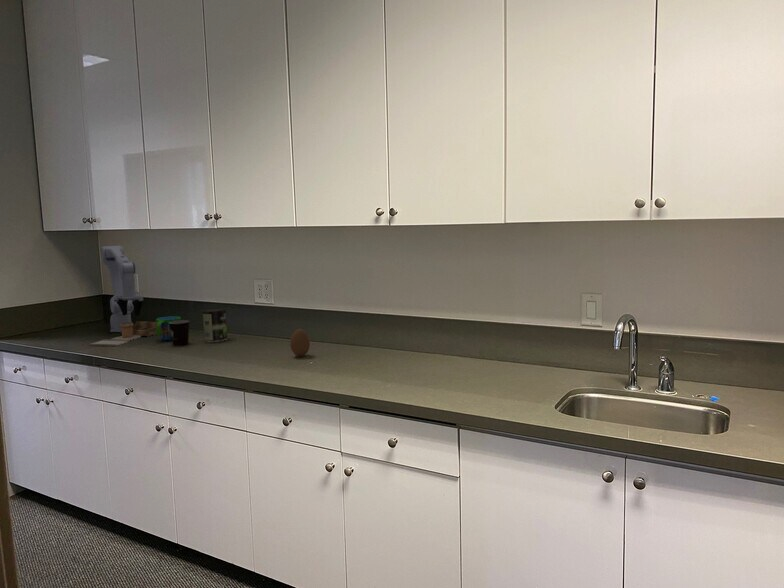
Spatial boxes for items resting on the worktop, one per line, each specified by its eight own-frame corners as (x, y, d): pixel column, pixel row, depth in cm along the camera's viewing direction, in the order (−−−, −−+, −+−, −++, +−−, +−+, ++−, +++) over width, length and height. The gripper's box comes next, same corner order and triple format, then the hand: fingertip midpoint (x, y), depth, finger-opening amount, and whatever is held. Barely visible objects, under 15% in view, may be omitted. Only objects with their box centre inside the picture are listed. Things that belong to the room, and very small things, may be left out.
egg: (314, 354, 245) (312, 328, 243) (303, 359, 238) (301, 331, 236) (298, 353, 248) (296, 326, 247) (287, 357, 241) (285, 330, 240)
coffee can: (230, 337, 285) (228, 307, 283) (223, 342, 275) (221, 311, 273) (208, 338, 285) (206, 308, 283) (201, 342, 275) (198, 311, 273)
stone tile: (111, 340, 286) (111, 338, 286) (125, 336, 294) (125, 334, 294) (126, 341, 283) (126, 339, 283) (140, 337, 291) (140, 335, 291)
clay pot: (118, 337, 287) (117, 324, 286) (127, 335, 293) (126, 322, 292) (128, 338, 285) (127, 325, 285) (136, 335, 291) (135, 322, 290)
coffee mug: (170, 343, 276) (169, 321, 275) (190, 341, 279) (189, 319, 277) (169, 348, 265) (167, 325, 264) (190, 346, 268) (188, 324, 266)
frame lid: (88, 345, 276) (88, 343, 276) (102, 341, 285) (102, 339, 285) (115, 346, 272) (115, 344, 272) (128, 342, 281) (128, 340, 281)
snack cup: (173, 335, 294) (171, 314, 293) (190, 336, 290) (189, 315, 288) (148, 342, 280) (146, 320, 278) (166, 343, 276) (164, 321, 274)
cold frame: (121, 335, 297) (120, 325, 297) (137, 331, 308) (136, 321, 307) (147, 337, 292) (146, 326, 291) (163, 332, 302) (162, 322, 302)
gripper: (110, 288, 293) (113, 316, 295) (134, 288, 289) (137, 317, 290) (121, 286, 300) (124, 313, 302) (145, 286, 295) (147, 314, 297)
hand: (131, 315), depth 297 cm, fingers open, 7 cm apart
